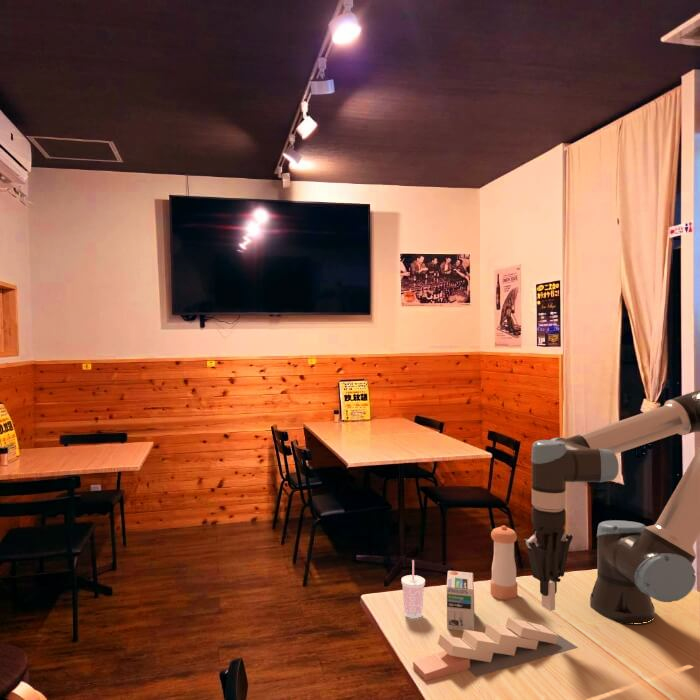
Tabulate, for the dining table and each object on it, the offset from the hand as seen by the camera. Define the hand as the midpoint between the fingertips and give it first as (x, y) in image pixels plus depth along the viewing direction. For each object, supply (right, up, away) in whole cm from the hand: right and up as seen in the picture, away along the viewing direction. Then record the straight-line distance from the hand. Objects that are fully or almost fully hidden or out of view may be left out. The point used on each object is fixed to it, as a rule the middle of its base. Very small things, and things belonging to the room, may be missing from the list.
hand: (548, 607), depth 130 cm
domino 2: (-17, -6, -7) cm, 19 cm away
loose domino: (-11, -6, -5) cm, 13 cm away
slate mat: (-10, -8, -4) cm, 13 cm away
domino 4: (0, -6, 0) cm, 6 cm away
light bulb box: (-19, -8, +9) cm, 22 cm away
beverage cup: (-30, -8, +13) cm, 34 cm away
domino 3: (-5, -6, -2) cm, 8 cm away
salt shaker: (-4, -8, +25) cm, 26 cm away
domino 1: (-22, -6, -9) cm, 25 cm away
